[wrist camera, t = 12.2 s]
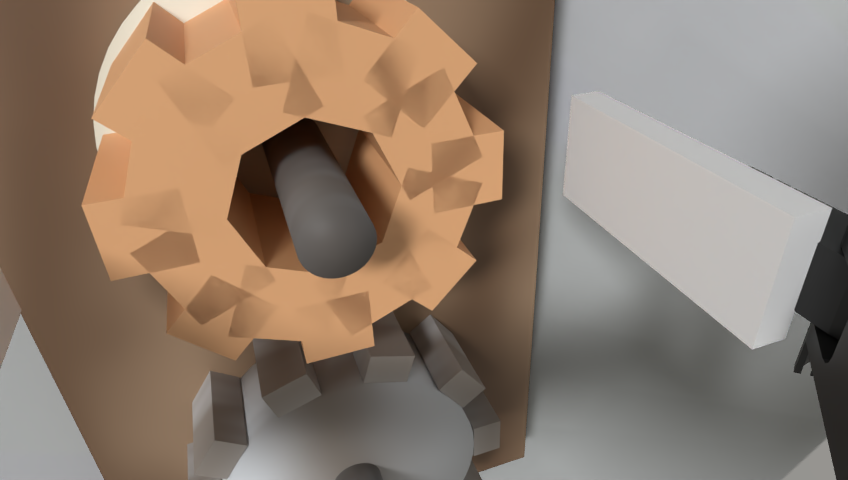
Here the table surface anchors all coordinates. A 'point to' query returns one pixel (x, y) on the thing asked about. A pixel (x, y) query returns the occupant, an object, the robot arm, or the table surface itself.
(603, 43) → the table surface
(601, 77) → the table surface
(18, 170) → the gear board
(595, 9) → the table surface
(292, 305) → the loose gear
